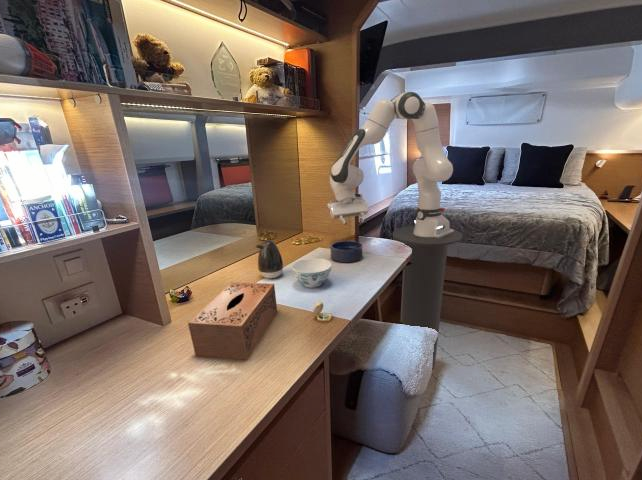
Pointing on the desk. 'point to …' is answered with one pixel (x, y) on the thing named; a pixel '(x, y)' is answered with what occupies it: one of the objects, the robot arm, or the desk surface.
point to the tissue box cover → (234, 321)
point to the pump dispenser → (269, 260)
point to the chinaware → (312, 271)
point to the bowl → (346, 251)
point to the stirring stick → (357, 228)
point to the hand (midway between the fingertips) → (354, 222)
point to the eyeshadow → (323, 316)
